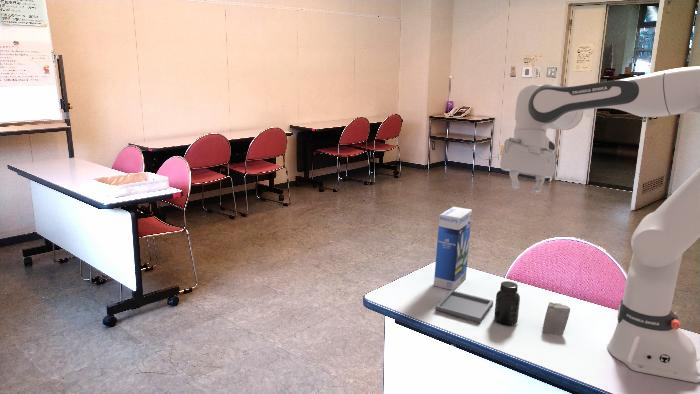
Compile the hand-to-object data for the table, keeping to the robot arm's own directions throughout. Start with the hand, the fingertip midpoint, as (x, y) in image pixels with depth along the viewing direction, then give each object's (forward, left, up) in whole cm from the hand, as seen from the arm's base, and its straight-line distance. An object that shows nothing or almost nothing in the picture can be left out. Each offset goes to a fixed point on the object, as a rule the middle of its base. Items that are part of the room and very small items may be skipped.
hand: (526, 189), depth 150 cm
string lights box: (+25, -14, -40) cm, 49 cm away
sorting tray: (+14, +3, -40) cm, 42 cm away
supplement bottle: (+1, +4, -40) cm, 40 cm away
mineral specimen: (-12, +1, -40) cm, 42 cm away
